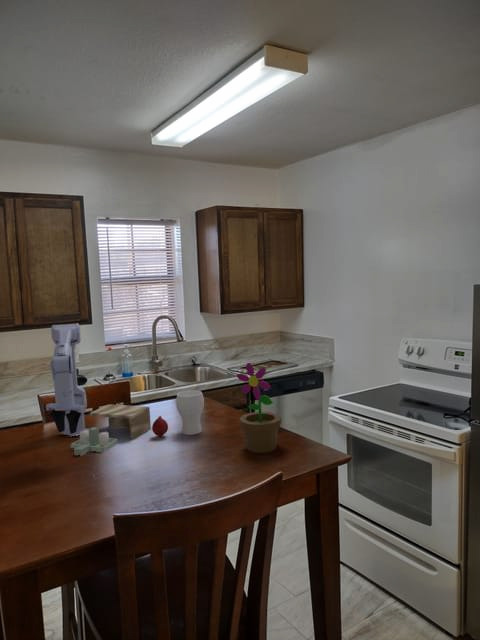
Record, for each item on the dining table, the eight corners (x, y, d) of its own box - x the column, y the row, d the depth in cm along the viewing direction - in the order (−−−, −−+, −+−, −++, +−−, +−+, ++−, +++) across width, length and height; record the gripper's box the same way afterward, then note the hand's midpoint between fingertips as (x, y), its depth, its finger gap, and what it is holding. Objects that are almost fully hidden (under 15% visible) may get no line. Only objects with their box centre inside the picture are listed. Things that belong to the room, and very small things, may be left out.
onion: (160, 440, 167) (158, 419, 166) (149, 437, 170) (148, 417, 169) (171, 435, 171) (170, 415, 171) (161, 433, 175) (159, 412, 174)
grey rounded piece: (78, 444, 164) (78, 432, 164) (83, 441, 168) (82, 429, 167) (87, 445, 164) (86, 433, 164) (91, 442, 167) (91, 430, 167)
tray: (61, 453, 158) (60, 435, 158) (87, 440, 171) (86, 423, 170) (94, 457, 153) (93, 438, 153) (118, 443, 166) (117, 426, 166)
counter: (91, 435, 176) (89, 413, 175) (110, 425, 187) (109, 404, 186) (133, 439, 169) (132, 416, 168) (150, 429, 180) (149, 406, 179)
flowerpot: (233, 451, 153) (228, 363, 150) (252, 437, 166) (248, 356, 163) (272, 457, 146) (268, 365, 143) (288, 442, 159) (285, 357, 156)
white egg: (97, 446, 162) (96, 434, 162) (103, 443, 165) (103, 431, 165) (104, 447, 161) (103, 435, 160) (111, 444, 164) (110, 432, 163)
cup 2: (204, 435, 170) (202, 396, 168) (175, 436, 170) (173, 397, 169) (206, 426, 180) (204, 389, 179) (180, 427, 180) (177, 390, 179)
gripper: (37, 394, 149) (41, 434, 150) (73, 396, 144) (77, 438, 145) (53, 388, 155) (56, 427, 157) (88, 390, 150) (91, 430, 152)
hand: (67, 432), depth 151 cm, fingers open, 4 cm apart
